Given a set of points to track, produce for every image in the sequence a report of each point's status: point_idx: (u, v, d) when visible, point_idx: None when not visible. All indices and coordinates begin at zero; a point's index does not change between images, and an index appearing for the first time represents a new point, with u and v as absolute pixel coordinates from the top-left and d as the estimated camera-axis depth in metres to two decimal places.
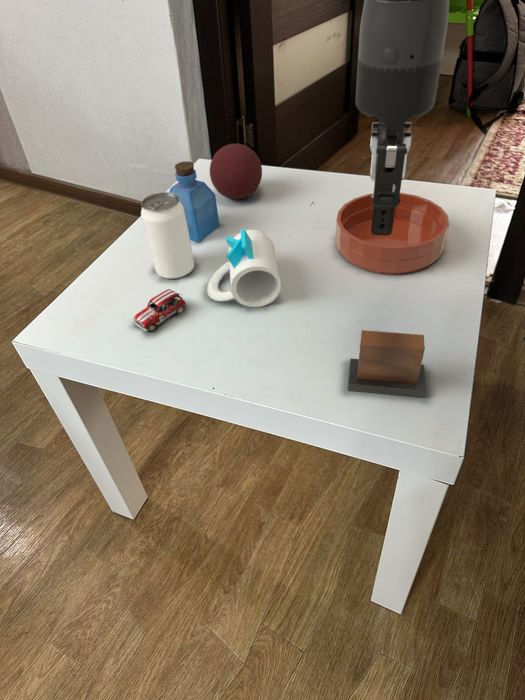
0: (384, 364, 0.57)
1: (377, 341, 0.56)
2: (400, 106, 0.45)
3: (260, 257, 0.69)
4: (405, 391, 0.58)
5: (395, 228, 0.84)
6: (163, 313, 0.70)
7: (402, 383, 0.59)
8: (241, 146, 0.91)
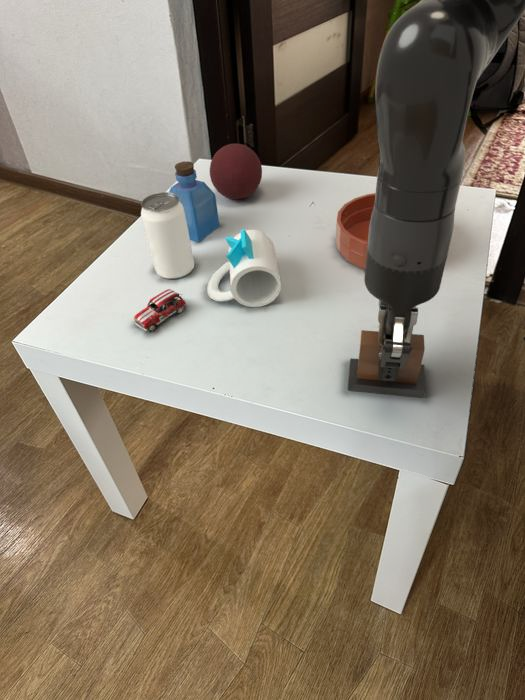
0: None
1: (377, 341, 0.56)
2: (407, 298, 0.47)
3: (260, 257, 0.69)
4: (405, 391, 0.58)
5: None
6: (163, 313, 0.70)
7: (402, 383, 0.59)
8: (241, 146, 0.91)
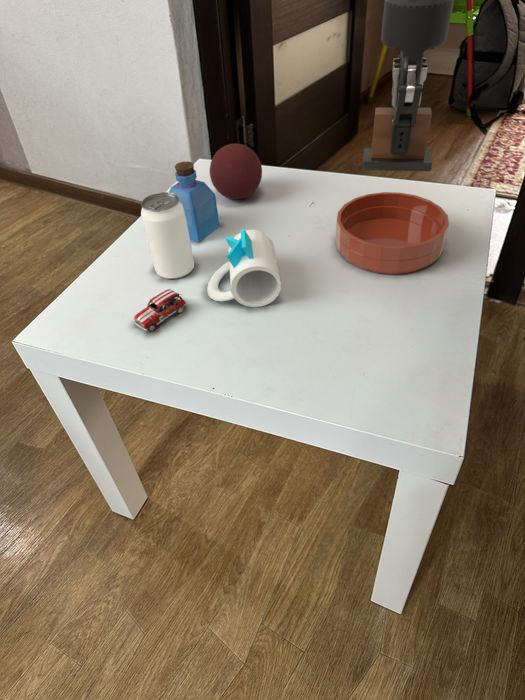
0: None
1: (390, 112, 0.64)
2: (419, 38, 0.55)
3: (260, 257, 0.69)
4: (414, 165, 0.66)
5: (395, 228, 0.84)
6: (163, 313, 0.70)
7: (411, 159, 0.67)
8: (241, 146, 0.91)
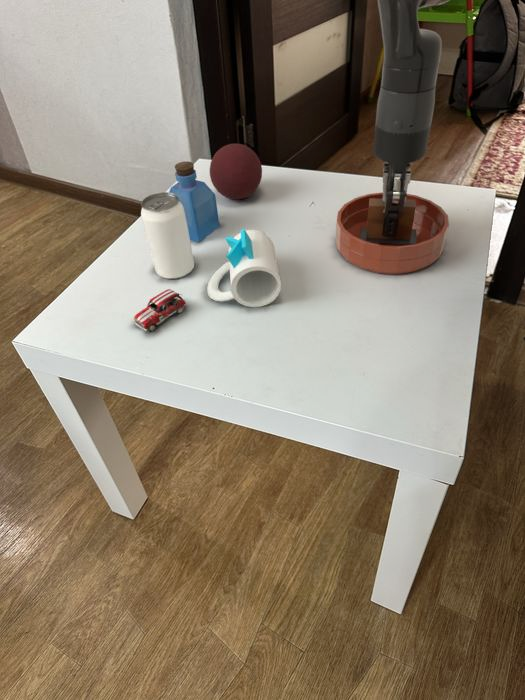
0: None
1: (381, 203, 0.77)
2: (403, 156, 0.68)
3: (260, 257, 0.69)
4: (401, 245, 0.79)
5: None
6: (163, 313, 0.70)
7: (399, 239, 0.80)
8: (241, 146, 0.91)
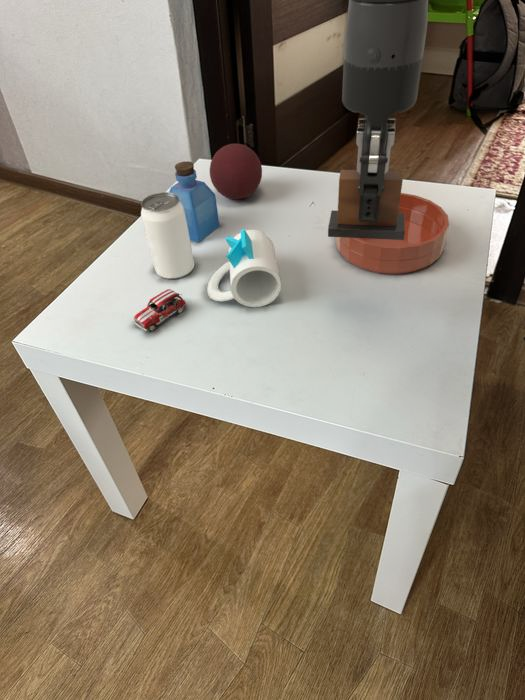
0: None
1: (356, 176, 0.56)
2: (383, 103, 0.48)
3: (260, 257, 0.69)
4: (384, 233, 0.59)
5: None
6: (163, 313, 0.70)
7: (382, 226, 0.59)
8: (241, 146, 0.91)
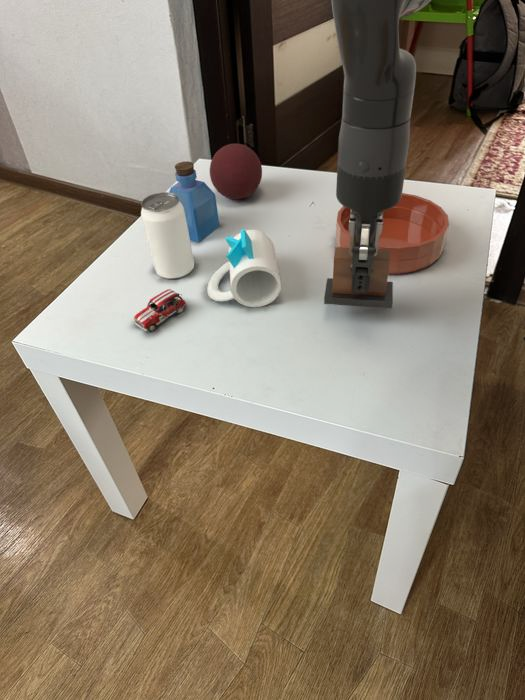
0: None
1: (348, 254, 0.63)
2: (371, 203, 0.54)
3: (260, 257, 0.69)
4: (374, 302, 0.66)
5: (395, 228, 0.84)
6: (163, 313, 0.70)
7: (372, 296, 0.66)
8: (241, 146, 0.91)
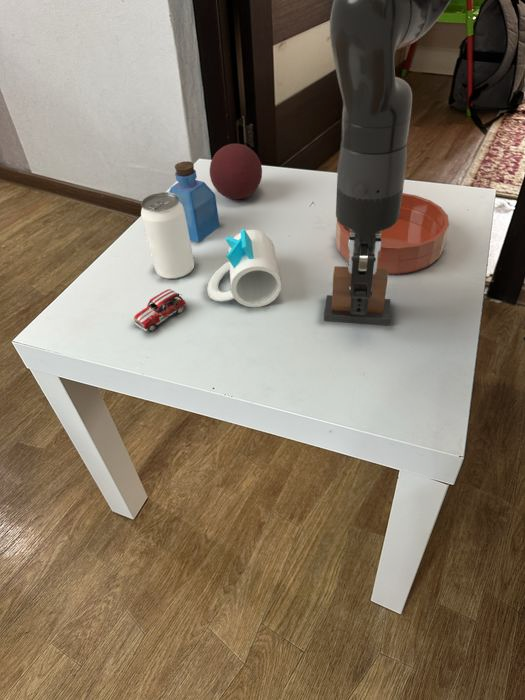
0: None
1: (347, 274, 0.65)
2: (370, 224, 0.56)
3: (260, 257, 0.69)
4: (372, 319, 0.68)
5: (395, 228, 0.84)
6: (163, 313, 0.70)
7: (370, 313, 0.68)
8: (241, 146, 0.91)
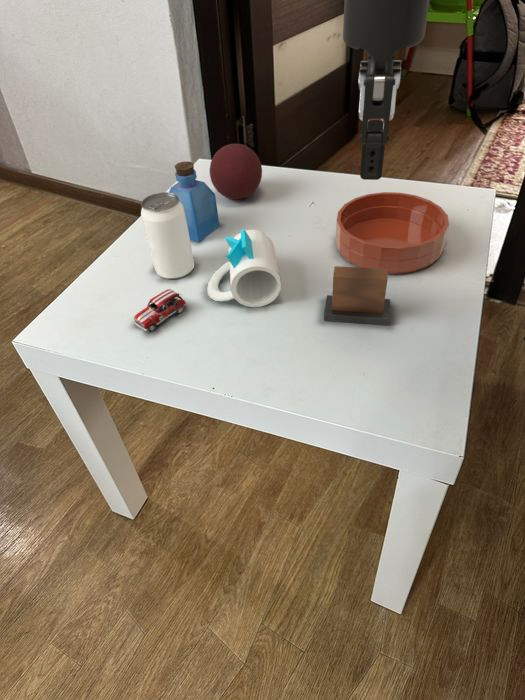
0: (354, 295, 0.67)
1: (347, 274, 0.65)
2: (388, 36, 0.43)
3: (260, 257, 0.69)
4: (372, 319, 0.68)
5: (395, 228, 0.84)
6: (163, 313, 0.70)
7: (370, 313, 0.68)
8: (241, 146, 0.91)
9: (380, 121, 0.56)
